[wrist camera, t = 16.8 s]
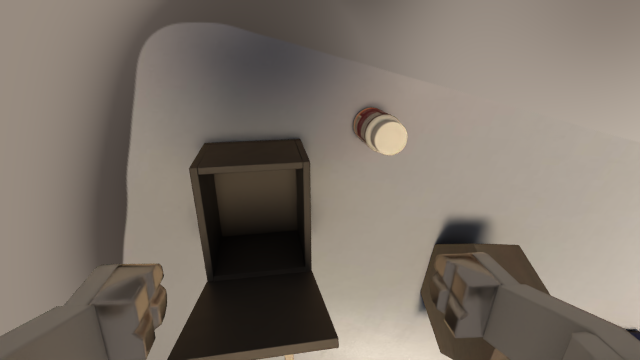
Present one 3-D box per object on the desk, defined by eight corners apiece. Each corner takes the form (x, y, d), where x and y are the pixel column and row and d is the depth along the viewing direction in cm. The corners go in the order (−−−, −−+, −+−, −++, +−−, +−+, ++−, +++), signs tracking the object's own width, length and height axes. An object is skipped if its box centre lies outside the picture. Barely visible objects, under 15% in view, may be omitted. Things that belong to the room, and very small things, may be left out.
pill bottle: (391, 125, 46) (418, 140, 38) (365, 147, 46) (386, 166, 38) (373, 99, 44) (397, 109, 36) (345, 122, 44) (363, 137, 37)
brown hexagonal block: (461, 341, 58) (572, 390, 38) (422, 343, 56) (516, 394, 37) (455, 245, 62) (553, 244, 42) (418, 244, 60) (502, 242, 40)
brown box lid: (165, 362, 23) (171, 429, 23) (338, 337, 25) (341, 400, 25) (206, 281, 38) (210, 323, 39) (311, 270, 40) (314, 310, 40)
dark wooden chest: (204, 142, 42) (188, 168, 33) (300, 138, 44) (310, 161, 35) (217, 238, 48) (207, 282, 39) (302, 231, 50) (311, 271, 41)
